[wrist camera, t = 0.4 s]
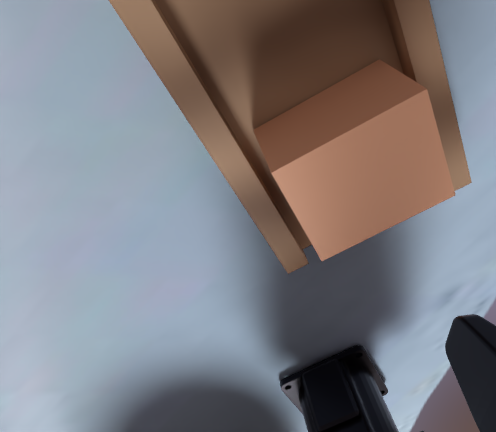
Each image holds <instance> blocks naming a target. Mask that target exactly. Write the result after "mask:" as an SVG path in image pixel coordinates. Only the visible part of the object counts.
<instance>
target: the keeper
mask: <svg viewBox="0 0 496 432" xmlns="http://www.w3.org/2000/svg"><path fill="white" fill-rule="evenodd" d="M253 131H254V134H255V136H256V138H257V141H258V143H259V145H260V148H261V150H262V153H263V155H264V157H265V160H266V162H267V164H268V167H269V169H270V171H271V174H272V175H273V177H274V179H275V181H276V182H277V184H278V186H279V188H280V189H281V191H282V193H283V195H284V196H285V198H286V200H287V202H288V203H289V205H290V207H291V209H292V210H293V212H294V214H295V216H296V217H297V219H298V221H299V223H300V224H301V226H302V228H303V230H304V231H305V233H306V235H307V237H308V238H309V240H310V242H311V244H312V245H313V247H314V249H315V251H316V252H317V254H318V256H319V257H320V259H321V261H324V260H326V259H328V258H330V257H332V256H334V255H336V254H338V253H340V252H342V251H344V250H346V249H348V248H350V247H352V246H354V245H356V244H358V243H360V242H362V241H364V240H366V239H368V238H370V237H372V236H374V235H376V234H378V233H380V232H382V231H384V230H386V229H388V228H390V227H392V226H394V225H396V224H398V223H400V222H402V221H404V220H406V219H408V218H410V217H412V216H414V215H416V214H418V213H420V212H423V211H425V210H427V209H429V208H431V207H433V206H435V205H437V204H439V203H441V202H443V201H445V200H447V199H449V198H451V197H453V196H455V191H454V188H453V184H452V180H451V176H450V173H449V169H448V165H447V161H446V158H445V154H444V150H443V146H442V143H441V139H440V135H439V131H438V128H437V124H436V120H435V117H434V113H433V109H432V105H431V102H430V98H429V94H428V90H427V88H425V87H423V86H422V85H420V84H419V83H417V82H415V81H414V80H412V79H411V78H409V77H407V76H406V75H404V74H402V73H401V72H399V71H398V70H396V69H394V68H393V67H391V66H390V65H388V64H386V63H385V62H383V61H382V60H380V59H379V60H377V61H375V62H373V63H372V64H370V65H368V66H366V67H365V68H363V69H361V70H359V71H357V72H356V73H354V74H352V75H350V76H348V77H347V78H345V79H343V80H341V81H340V82H338V83H336V84H334V85H332V86H331V87H329V88H327V89H325V90H324V91H322V92H320V93H318V94H316V95H315V96H313V97H311V98H309V99H307V100H306V101H304V102H302V103H300V104H299V105H297V106H295V107H293V108H291V109H290V110H288V111H286V112H284V113H282V114H281V115H279V116H277V117H275V118H274V119H272V120H270V121H268V122H266V123H265V124H263V125H261V126H259V127H257V128H256V129H254V130H253Z"/></svg>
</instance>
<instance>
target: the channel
mask: <svg viewBox="0 0 496 432" xmlns="http://www.w3.org/2000/svg"><path fill="white" fill-rule="evenodd" d="M109 1H110V3H111V5H112V6H113V8H114V9H115V11H116V12H117V14H118V15H119V17H120V18H121V20H122V21H123V23H124V24H125V26H126V27H127V29H128V30H129V32H130V33H131V35H132V37H133V38H134V40H135V41H136V43H137V44H138V46H139V47H140V49H141V50H142V52H143V53H144V55H145V56H146V58H147V59H148V61H149V62H150V64H151V66H152V67H153V69H154V70H155V72H156V73H157V75H158V76H159V78H160V79H161V81H162V82H163V84H164V85H165V87H166V88H167V90H168V91H169V93H170V95H171V96H172V98H173V99H174V101H175V102H176V104H177V105H178V107H179V108H180V110H181V111H182V113H183V114H184V116H185V117H186V119H187V120H188V122H189V123H190V125H191V127H192V128H193V130H194V131H195V133H196V134H197V136H198V137H199V139H200V140H201V142H202V143H203V145H204V146H205V148H206V149H207V151H208V152H209V154H210V156H211V157H212V159H213V160H214V162H215V163H216V165H217V166H218V168H219V169H220V171H221V172H222V174H223V175H224V177H225V178H226V180H227V181H228V183H229V184H230V186H231V188H232V189H233V191H234V192H235V194H236V195H237V197H238V198H239V200H240V201H241V203H242V204H243V206H244V207H245V209H246V210H247V212H248V213H249V215H250V217H251V218H252V220H253V221H254V223H255V224H256V226H257V227H258V229H259V230H260V232H261V233H262V235H263V236H264V238H265V239H266V241H267V242H268V244H269V246H270V247H271V249H272V250H273V252H274V253H275V255H276V256H277V258H278V259H279V261H280V262H281V264H282V265H283V267H284V268H285V270H286V271H287V273H288V274H289V273H291V272H293V271H295V270H297V269H299V268H301V267H303V266H305V265H307V264H309V263H308V260H307V258H306V256H305V253H304V251H303V249H304V248H306V247H308V246H310V245H312V244H311V242H310V240H309V238H308V237H307V235H306V233H305V231H304V230H303V228H302V226H301V224H300V223H299V221H298V219H297V217H296V216H295V214H294V212H293V210H292V209H291V207H290V205H289V203H288V202H287V200H286V198H285V196H284V195H283V193H282V191H281V189H280V188H279V186H278V184H277V182H276V181H275V179H274V177H273V175H272V174H271V171H270V169H269V167H268V164H267V162H266V160H265V157H264V155H263V153H262V150H261V148H260V145H259V143H258V141H257V138H256V136H255V134H254V131H253V130H254V129H256V128H257V127H259V126H261V125H263V124H265V123H266V122H268V121H270V120H272V119H274V118H275V117H277V116H279V115H281V114H282V113H284V112H286V111H288V110H290V109H291V108H293V107H295V106H297V105H299V104H300V103H302V102H304V101H306V100H307V99H309V98H311V97H313V96H315V95H316V94H318V93H320V92H322V91H324V90H325V89H327V88H329V87H331V86H332V85H334V84H336V83H338V82H340V81H341V80H343V79H345V78H347V77H348V76H350V75H352V74H354V73H356V72H357V71H359V70H361V69H363V68H365V67H366V66H368V65H370V64H372V63H373V62H375V61H377V60H379V59H380V60H382V61H383V62H385V63H386V64H388V65H390V66H391V67H393V68H394V69H396V70H398V71H399V72H401V73H402V74H404V75H406V76H407V77H409V78H411V79H412V80H414V81H415V82H417V83H419V84H420V85H422V86H423V87H425V88H427V90H428V94H429V98H430V102H431V105H432V109H433V113H434V117H435V120H436V124H437V128H438V131H439V135H440V139H441V143H442V146H443V150H444V154H445V158H446V161H447V165H448V169H449V173H450V176H451V180H452V184H453V188H454V191H456V190H458V189H460V188H462V187H464V186H466V185H468V184H470V183H472V182H471V178H470V174H469V169H468V165H467V161H466V157H465V152H464V148H463V144H462V139H461V135H460V131H459V127H458V122H457V118H456V114H455V109H454V105H453V101H452V97H451V92H450V88H449V84H448V79H447V75H446V71H445V67H444V62H443V58H442V54H441V49H440V45H439V41H438V37H437V32H436V28H435V24H434V20H433V15H432V11H431V7H430V2H429V0H109Z"/></svg>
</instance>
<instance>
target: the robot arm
mask: <svg viewBox="0 0 496 432" xmlns="http://www.w3.org/2000/svg"><path fill="white" fill-rule="evenodd" d="M445 349H446V354H447V357H448V359H449V362H450V364H451V366H452V369H453V371H454V373H455V375H456V378H457V380H458V383H459V385H460V387H461V389H462V392H463V394H464V396H465V399H466V401H467V404H468V406H469V408H470V411H471V413H472V415H473V418H474V420H475V422H476V424H477V426H478V428H479V430H480V432H496V326H495V325H494V324H492V323H490V322H489V321H487V320H485V319H484V318H482V317H480V316H478V315H474V314H472V315H463V316H458V317H456V318H455V319H454V320H453V323H452V326H451V329H450V332H449V335H448V337H447V340H446V345H445ZM280 386H281V390H282V391H283V392H284V393H285V394H286V396H287V397H288V398H289V399H290V400H291V401H292V402H293V404H294V405H295V406H296V407H297V408H298V409H299V410H300V412H301V413H302V414H303V415H304V419H305V423H306V426H307V430H308V432H398V429H397V427H396V425H395V423H394V421H393V419H392V416H391V414H390V412H389V410H388V408H387V405H386V403H385V401H384V399H383V397H382V396H384V395H386V394H387V393H388V389H387V387H386V385H385V383H384V382H383V380H382V378H381V377H380V375H379V373H378V372H377V370H376V368H375V366H374V365H373V363H372V361H371V360H370V358H369V356H368V355H367V353H366V351H365V349H364V348H363V347H362V346H355V347H353V348H351V349H348V350H346V351H344V352H342V353H340V354H337V355H335V356H333V357H331V358H329V359H327V360H324V361H322V362H320V363H318V364H316V365H314V366H311V367H309V368H307V369H305V370H303V371H300V372H298V373H296V374H294V375H292V376H290V377H287V378H285V379H283V380H282V381H281V382H280ZM421 432H424V431H421Z"/></svg>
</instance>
